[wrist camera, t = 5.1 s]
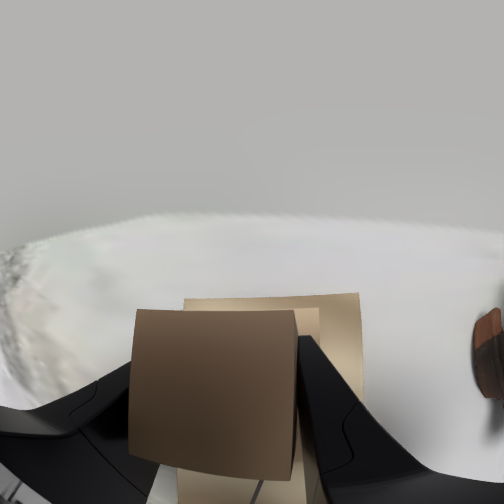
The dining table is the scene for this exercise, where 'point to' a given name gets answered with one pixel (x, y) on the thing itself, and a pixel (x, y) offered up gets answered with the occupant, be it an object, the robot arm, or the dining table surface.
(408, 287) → the dining table surface
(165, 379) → the block
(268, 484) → the pine board
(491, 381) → the pottery mug
